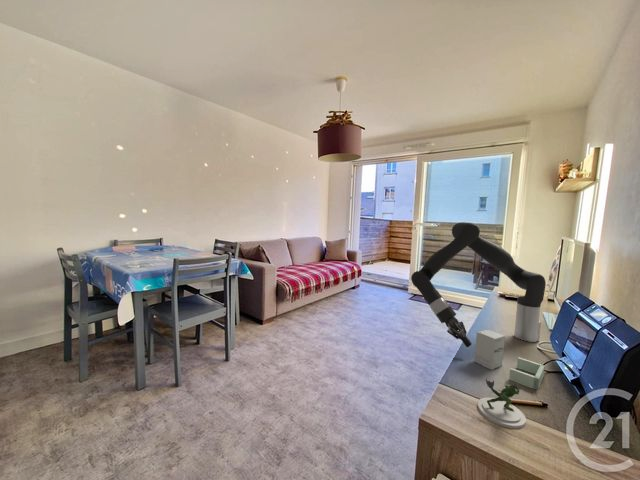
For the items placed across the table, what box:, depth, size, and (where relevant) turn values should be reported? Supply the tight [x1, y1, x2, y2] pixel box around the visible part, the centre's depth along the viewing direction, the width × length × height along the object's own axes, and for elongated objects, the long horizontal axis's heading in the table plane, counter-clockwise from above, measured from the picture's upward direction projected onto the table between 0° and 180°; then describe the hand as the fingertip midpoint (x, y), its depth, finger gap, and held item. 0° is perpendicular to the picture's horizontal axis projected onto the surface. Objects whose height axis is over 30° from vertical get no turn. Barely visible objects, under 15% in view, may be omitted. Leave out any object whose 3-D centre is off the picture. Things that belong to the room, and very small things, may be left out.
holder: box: [508, 356, 546, 391], centre depth 101 cm, size 8×13×4 cm, turn 134°
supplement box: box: [473, 329, 506, 371], centre depth 110 cm, size 7×7×13 cm
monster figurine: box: [477, 378, 527, 429], centre depth 82 cm, size 12×12×10 cm
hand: (469, 345), depth 116 cm, fingers closed
